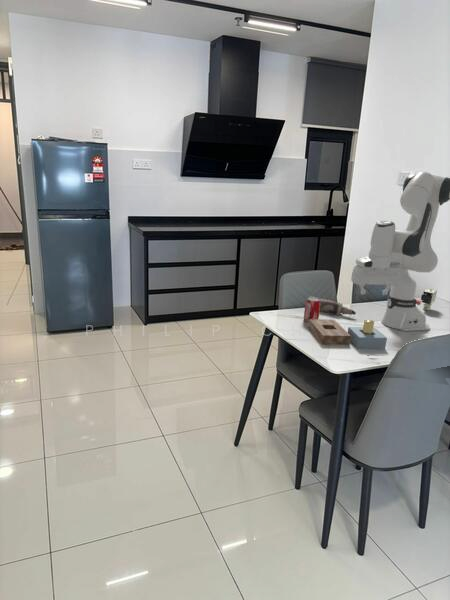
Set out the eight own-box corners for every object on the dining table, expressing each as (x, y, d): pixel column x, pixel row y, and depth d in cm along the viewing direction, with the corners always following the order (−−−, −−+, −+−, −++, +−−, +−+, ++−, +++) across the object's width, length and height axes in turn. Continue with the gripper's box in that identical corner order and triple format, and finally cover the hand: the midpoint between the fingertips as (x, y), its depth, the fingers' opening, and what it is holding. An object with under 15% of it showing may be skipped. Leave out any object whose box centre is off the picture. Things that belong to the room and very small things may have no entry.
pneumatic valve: (433, 308, 249) (438, 288, 245) (428, 312, 240) (432, 291, 237) (423, 306, 252) (427, 286, 249) (417, 310, 243) (421, 289, 240)
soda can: (317, 326, 208) (321, 302, 205) (302, 324, 210) (305, 300, 206) (318, 321, 215) (321, 297, 212) (303, 319, 216) (306, 296, 213)
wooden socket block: (332, 329, 205) (334, 319, 203) (349, 346, 186) (350, 335, 184) (307, 329, 203) (309, 319, 202) (321, 346, 184) (323, 335, 183)
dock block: (372, 340, 195) (374, 327, 193) (384, 351, 184) (387, 337, 182) (346, 339, 194) (348, 326, 192) (357, 350, 182) (359, 337, 181)
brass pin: (368, 341, 191) (371, 319, 188) (372, 344, 187) (375, 322, 184) (359, 341, 190) (362, 319, 187) (363, 344, 186) (366, 322, 183)
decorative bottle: (305, 309, 233) (306, 297, 231) (311, 306, 239) (312, 294, 237) (352, 320, 219) (354, 308, 217) (357, 317, 225) (359, 305, 223)
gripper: (399, 260, 182) (393, 292, 186) (352, 259, 180) (347, 291, 184) (407, 264, 176) (401, 297, 180) (358, 262, 174) (353, 296, 178)
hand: (373, 294), depth 182 cm, fingers open, 8 cm apart
